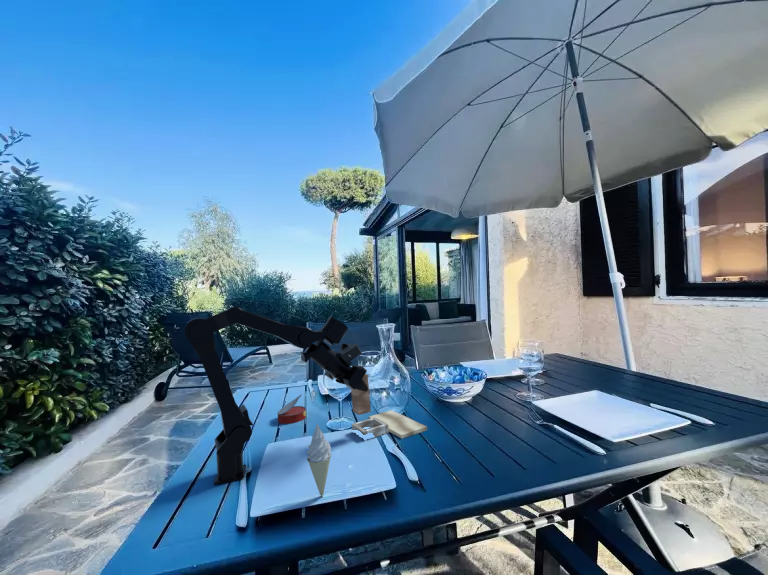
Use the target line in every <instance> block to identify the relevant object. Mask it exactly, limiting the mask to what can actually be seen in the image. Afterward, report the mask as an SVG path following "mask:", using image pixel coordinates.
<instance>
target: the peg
mask: <svg viewBox="0 0 768 575" xmlns="http://www.w3.org/2000/svg"><path fill="white" fill-rule="evenodd" d="M362 379H363V381H364V382H365V384H366V385H367V387H368V391H367V392H366V391H362V390H358V389H352V388H350V392H351V393H350V394H351V404H352V413H353V414H356V415H357V416H360V415H364V414H367V413H368V414H369V413H371V412H372V410H371V400H370V399H371V397H370V386H369V385H370V384H369V374H367V373H366V374H365V375H364V377H363V378H362Z"/></svg>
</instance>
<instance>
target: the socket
mask: <svg viewBox="0 0 768 575" xmlns="http://www.w3.org/2000/svg"><path fill="white" fill-rule="evenodd" d="M364 427H371V428H370V429H366V430H365V429H363V428H364ZM352 430H358V431H360V432H361V433H362V434H363V435H366V434H368V433H373V435H374V436H375V438H379V437H380V436H383V435H382V434H384V435H387V434H389V433H391V434H393V435H394V436H396V437H398V438H400V439H402V440H403V439H404V438H408V437H412V436H414V435H417V434H420V433H423V432H426V431H428V426H427V425H424V424H422V423H420V422H418V421H417V420H413V419H411V418H410V417H408V416H405V415H404V414H400V413H398V412H397V411H394V410H392V409H391V410H387V411H383V412H380V413H377V414H373V415H370V416H368V419H365V420H361V421H357V422H354V423H351V431H352Z"/></svg>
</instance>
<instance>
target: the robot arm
mask: <svg viewBox="0 0 768 575" xmlns="http://www.w3.org/2000/svg"><path fill="white" fill-rule="evenodd" d="M233 324H238V325H241V326H244V327H247V328H250V329H253V330H256V331H260V332H261V333H265V334H268V335H272V336H275V337H277V338H278V339H280V340H282V341H284V342H285V343H287V344H290V345H291V346H293V347H296V348H299V349H303V350H304V349H306V350H305V351H301V352H300V355H301V358H300V359H301V361H302V362H304V363H307V362H308V361H310V360H312V361H313V362H315V363H316V364H317V365H318V366H320V369H322V370H323V371H324V372H325V373H324V374H325V376H326V377H327V378H328V379H329V380H332V381H333V380H334V379H335V380H334V381H335V382H336V383H338V384H341V385H345V386H346V387H348V388H349V389H351V388H352V389H358V390H362V391H366V392H367V391H368V387H367V385H366V384H365V382H364V381H363V379H362V378H363V377H364V375H365V374H367V371H368V370H367V369H366V368H365V367H364V366H363V365H360V364H354V365H352V364H353V362H352V361H353V360H354V359H356V358H357V357H358V356H361V355H362V354H363V352H362V350H361V349H360V347H359V345H358V344H357V343H348V344H347V343H345V342H343V343H341V344H340V342H341V341H342V340H343V338H344V337H345V335H346V334H347V333H348V331H349V330H350V328H349V326H347V324H345V323H344V322H342V321H341V320H339V319H337V318H335V317H334V316H329V317H328V318H327V320H326V322H325V323H324V324H323V325H322V327H321V328H320V330H319V329H318V330H317V329H314V330H312V329H311V328H309V327H306V326H305V327H304V326H300V325H294V324H287V323H286V324H285V323H281V322H279V321H276V320H274V319H270V318H267V317H264V316H262V315H258V314H255V313H252V312H249V311H246V310H244V309H242V308H240V307H239V306H231V307H229V308H227V309H226V310H224V311H221V312H218V313H215V314H213V315H211V316H209V317H206V318H202V317H201V318H200V317H197V318H193V319H191V320H189V321H187V323H186V324H185V327H184V330H183V333H184V337H185V339H186V340H187V341H188V343H189V344H190V346H191V348H192V349H193V350H194V352H195V353H196V354H197V356H198V358H199V359H200V362H201V364H202V367H203V369H204V371H205V374H206V377H207V379H208V383H209V384H210V388H211V390H212V392H213V395H214V397H215V399H216V402H217V404H218V408H219V410H220V417H221V424H222V430H221V431H220V432H219V433H218V434H217V436H216V437H215V438H214V445H215V448H216V453H215V454H216V472H217V474H216V476H215V478H214V481H213V485H215V486H216V485H219V484H220V485H221V484H225V483H230V482H234V481H238V480H239V481H241V480H243V479H244V478H245V474H246V471H247V467H248V466H247V464H244V454H243V452H244V447H245V444H246V442H247V441H248V440H249V439H250V438H251V435H252V432H253V431H252V427H251V426H254V422H252V420H251V418H250V416H249V411H248V409H247V407H246V405H245V404H242V405H241V406H239V405H238V404H237V402H236V400H235V397H234V394H233V392H232V389H231V387H230V384H229V382H228V380H227V379H228V378H227V377H226V375H225V372H224V369H223V366H222V363H221V361H220V359H219V356H218V354H217V348H216V343H215V342H216V341H215V335H214V333H216V332H218V331H221V330H222V329H225V328H227V327H229V326H231V325H233ZM339 344H340V345H339ZM333 345H335V346H338V345H339V351H338V352H337V351H335V350H334V349H332V348H331V347H333Z"/></svg>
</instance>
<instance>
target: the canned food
mask: <svg viewBox="0 0 768 575" xmlns="http://www.w3.org/2000/svg"><path fill="white" fill-rule="evenodd" d="M302 396H303V395H302V394H300V395H299V396H297V397H296V398H294V399H292V400H291V401H290V402H287V403H286V404H285V405H283V407H282V408H281V409H279V410H278V412H277V413H276V414H277V422H278V423H279V424H281V425H290V424H296V423H299V422H301V421H304V420H305V419H306V418H307V409H306V407H305V406H301V405H297V406H296V404H297V403H298V401H299V400H300V398H302Z"/></svg>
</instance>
